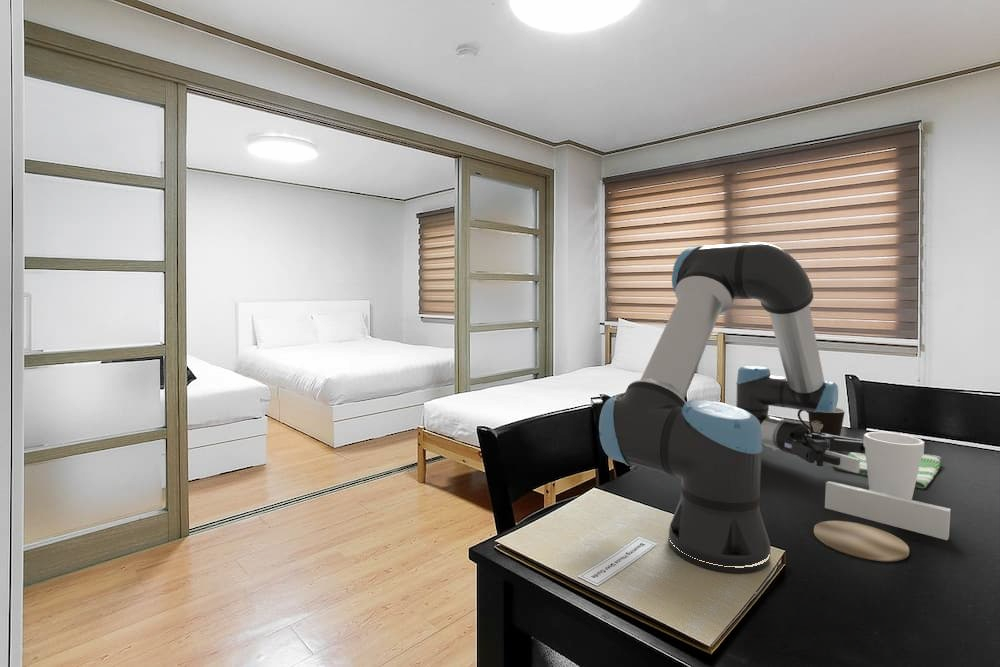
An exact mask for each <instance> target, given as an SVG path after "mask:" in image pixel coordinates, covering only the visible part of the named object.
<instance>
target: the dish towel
mask: <svg viewBox="0 0 1000 667" xmlns="http://www.w3.org/2000/svg"><path fill="white" fill-rule="evenodd" d="M845 455H846V456H850V457H853V458H857V459H860V467H859V473H855V472H851V471H848V470H845V469H842V468H838V467H835V470H839V471H843V472H848V473H851V474H852V473H853V474H856V475H857V474H858V475H862V476H867V477H868V473H867V463H866V454H863V453H854V452H848V454H845ZM941 459H942V457H941V456H938V455H934V454H927V453H924V454H923V456H922V458H921V462H920V466H919V471H918V475H917V479H916V484H915V488H918V489H926V488H927V486H928V485H929V484H930V483H931V481H932V480H933V479H934V477H935V476H936V475H937V473H938V472H939V470H940V468H941V461H942V460H941Z"/></svg>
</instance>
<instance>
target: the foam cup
mask: <svg viewBox="0 0 1000 667" xmlns="http://www.w3.org/2000/svg"><path fill="white" fill-rule="evenodd" d="M863 440H864V445H863V446H864V447H865V454H866V463H867V473H868V476H867V480H868V490H871V491H875V492H879V493H884V494H888V495H892V496H897V497H901V498H905V499H910V500H913V495H914V491H915V488H916V487H915V484H916V479H917V475H918V471H919V466H920V462H921V458H922V456H923V454H925V441H923V440H922V439H920V438H917V437H914V436H911V435H906V434H901V433H894V432H886V431H885V432H884V431H871V432H870V431H869V432H865V434H863Z"/></svg>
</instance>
